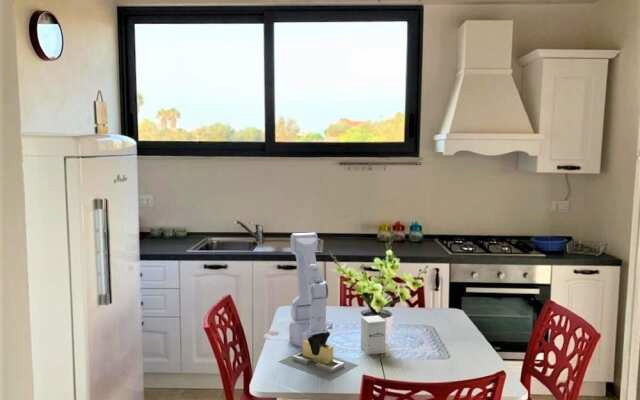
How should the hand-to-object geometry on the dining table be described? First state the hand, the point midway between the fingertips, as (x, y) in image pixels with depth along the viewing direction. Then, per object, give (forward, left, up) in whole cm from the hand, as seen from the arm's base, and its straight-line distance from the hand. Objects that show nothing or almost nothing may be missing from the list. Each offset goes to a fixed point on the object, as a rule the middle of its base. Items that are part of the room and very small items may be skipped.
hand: (317, 353), depth 183 cm
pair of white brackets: (0, 0, -4) cm, 4 cm away
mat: (0, 0, -4) cm, 4 cm away
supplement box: (+8, +23, -4) cm, 25 cm away
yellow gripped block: (0, 0, -2) cm, 3 cm away
